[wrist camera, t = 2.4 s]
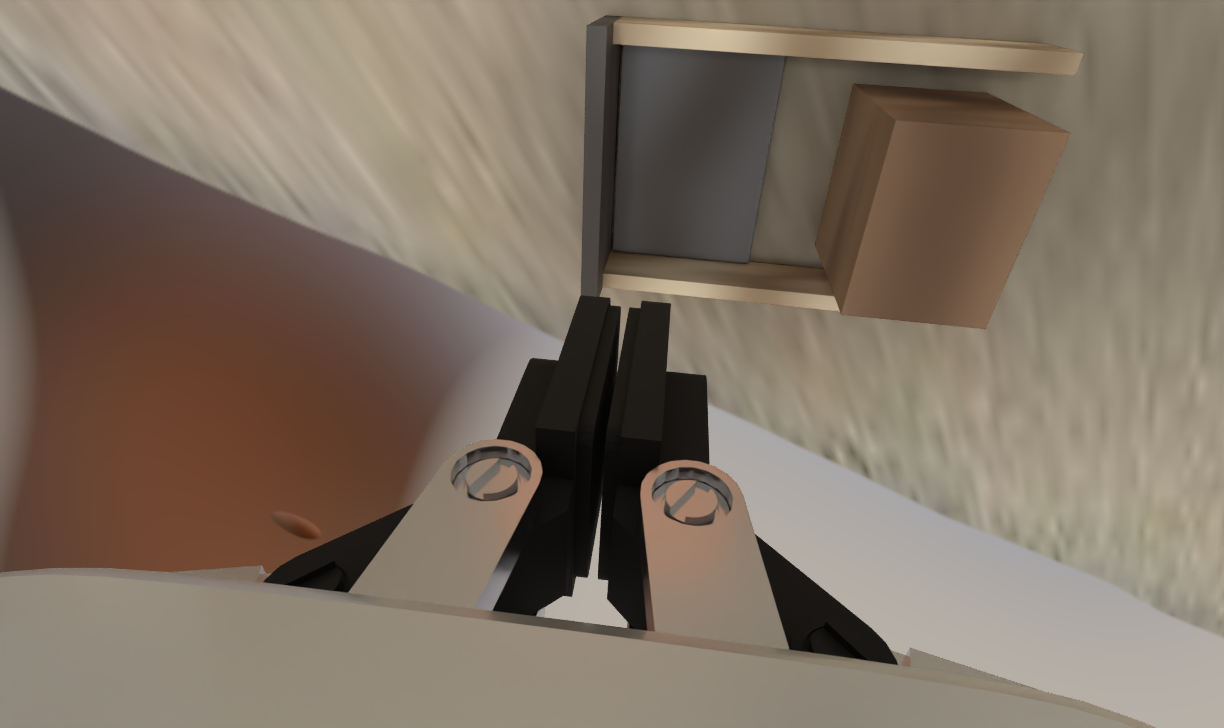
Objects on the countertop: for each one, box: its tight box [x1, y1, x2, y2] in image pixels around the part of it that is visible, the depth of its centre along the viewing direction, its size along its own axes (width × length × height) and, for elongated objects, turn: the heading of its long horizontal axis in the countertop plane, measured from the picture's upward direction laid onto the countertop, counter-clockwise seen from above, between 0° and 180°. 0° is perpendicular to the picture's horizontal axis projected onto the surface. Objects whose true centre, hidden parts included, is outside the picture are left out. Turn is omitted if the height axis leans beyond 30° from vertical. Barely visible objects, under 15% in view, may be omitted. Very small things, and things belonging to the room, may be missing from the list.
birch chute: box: [581, 16, 1084, 311], centre depth 22 cm, size 15×9×4 cm, turn 87°
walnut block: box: [815, 84, 1071, 329], centre depth 21 cm, size 4×6×6 cm
